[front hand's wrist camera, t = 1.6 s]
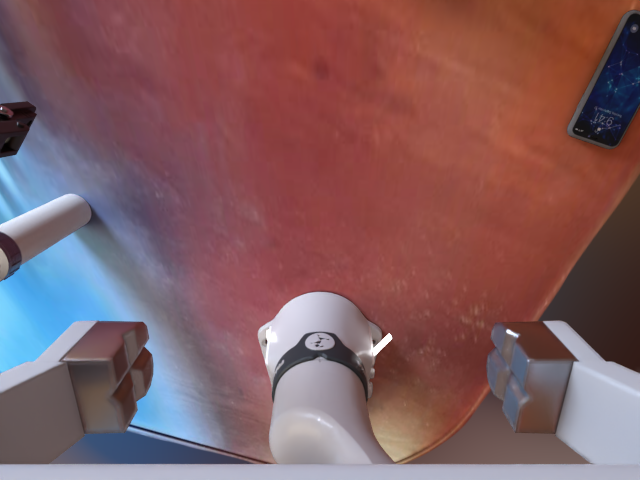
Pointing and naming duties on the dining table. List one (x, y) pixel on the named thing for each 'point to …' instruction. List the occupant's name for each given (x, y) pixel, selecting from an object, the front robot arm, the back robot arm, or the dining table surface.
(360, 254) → the dining table surface
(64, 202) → the white cylinder
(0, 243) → the lid
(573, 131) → the smartphone
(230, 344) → the dining table surface
